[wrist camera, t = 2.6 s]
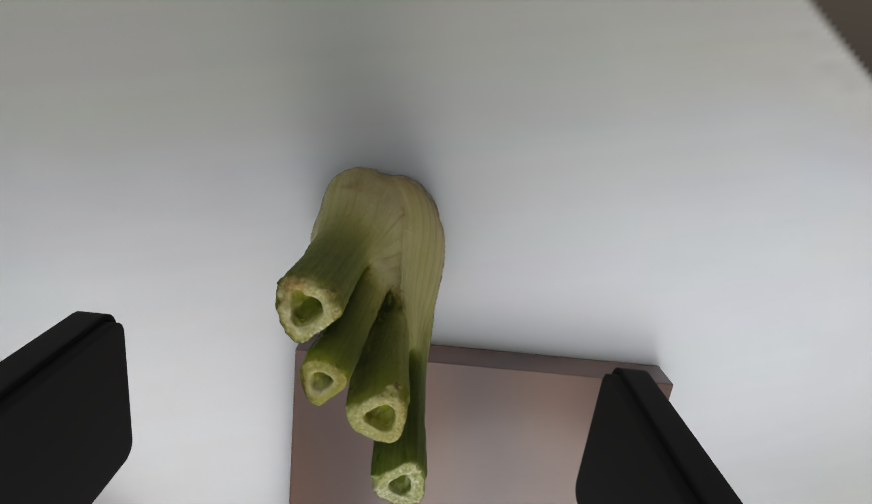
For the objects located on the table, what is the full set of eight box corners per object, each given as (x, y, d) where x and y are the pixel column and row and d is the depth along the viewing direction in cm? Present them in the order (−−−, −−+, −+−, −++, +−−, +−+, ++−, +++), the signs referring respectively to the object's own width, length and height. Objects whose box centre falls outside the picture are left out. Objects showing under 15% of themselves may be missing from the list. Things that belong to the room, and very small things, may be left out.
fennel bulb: (436, 298, 23) (453, 529, 11) (321, 291, 22) (218, 519, 11) (448, 163, 21) (482, 275, 9) (322, 154, 20) (200, 257, 9)
